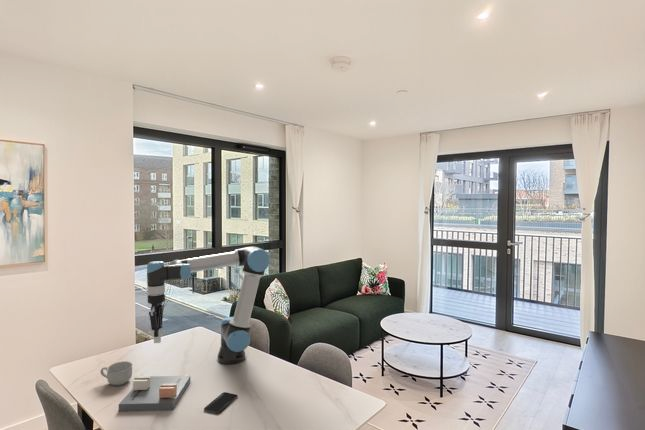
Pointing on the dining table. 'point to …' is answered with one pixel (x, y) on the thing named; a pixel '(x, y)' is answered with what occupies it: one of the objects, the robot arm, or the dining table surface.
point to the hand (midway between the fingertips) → (157, 342)
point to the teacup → (118, 373)
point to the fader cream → (141, 383)
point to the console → (154, 395)
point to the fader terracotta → (167, 390)
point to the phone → (220, 403)
